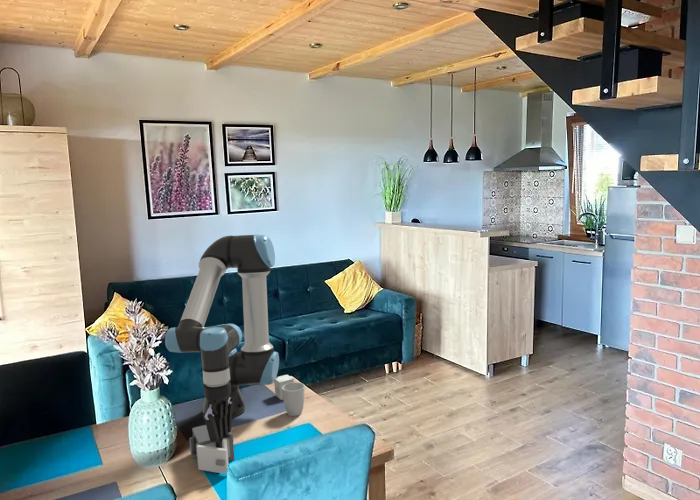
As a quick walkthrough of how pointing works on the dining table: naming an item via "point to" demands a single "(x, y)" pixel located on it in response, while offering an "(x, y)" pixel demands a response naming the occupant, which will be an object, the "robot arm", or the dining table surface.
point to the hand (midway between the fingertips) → (222, 459)
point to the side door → (212, 459)
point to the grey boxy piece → (208, 441)
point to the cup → (293, 398)
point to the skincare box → (281, 384)
